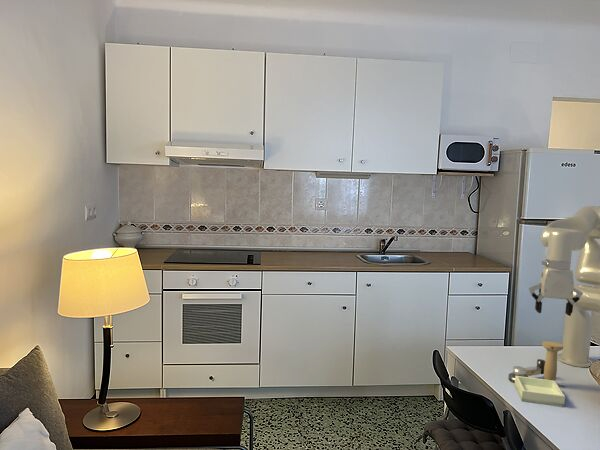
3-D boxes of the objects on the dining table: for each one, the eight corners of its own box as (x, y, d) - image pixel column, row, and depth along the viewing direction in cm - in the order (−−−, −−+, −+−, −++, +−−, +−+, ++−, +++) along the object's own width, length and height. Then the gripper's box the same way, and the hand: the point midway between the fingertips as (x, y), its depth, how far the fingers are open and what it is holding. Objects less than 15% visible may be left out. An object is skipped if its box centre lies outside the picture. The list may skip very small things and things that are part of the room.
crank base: (506, 375, 177) (507, 371, 176) (562, 382, 172) (562, 378, 172) (510, 383, 170) (510, 379, 170) (568, 390, 165) (568, 386, 165)
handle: (559, 389, 166) (563, 347, 165) (538, 384, 169) (542, 344, 168) (559, 384, 170) (563, 343, 169) (539, 380, 174) (542, 340, 172)
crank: (519, 379, 169) (520, 366, 169) (509, 374, 173) (510, 361, 173) (547, 375, 174) (548, 362, 174) (537, 370, 178) (539, 357, 178)
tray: (514, 385, 168) (515, 375, 168) (553, 390, 165) (554, 380, 165) (521, 401, 156) (522, 390, 156) (563, 406, 153) (564, 396, 153)
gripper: (534, 265, 163) (530, 313, 165) (589, 269, 160) (584, 318, 162) (528, 261, 171) (523, 308, 172) (580, 265, 168) (575, 313, 169)
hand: (553, 313), depth 167 cm, fingers open, 9 cm apart
